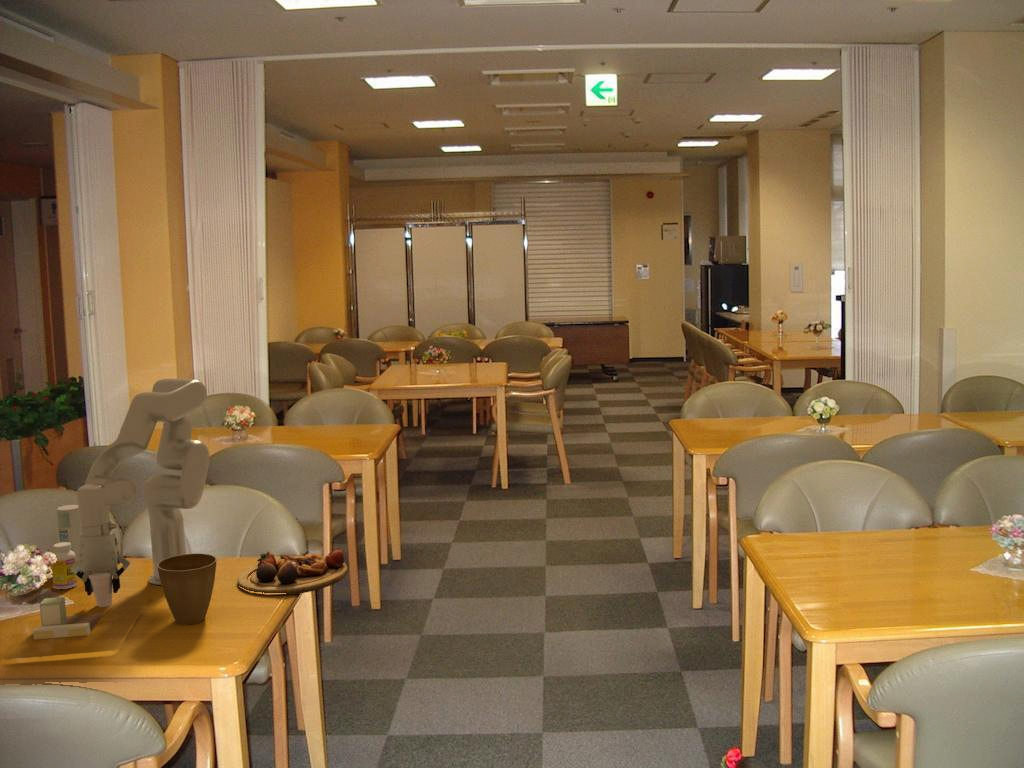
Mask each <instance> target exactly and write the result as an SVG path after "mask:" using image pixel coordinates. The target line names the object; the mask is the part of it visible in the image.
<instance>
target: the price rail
mask: <svg viewBox="0 0 1024 768" xmlns="http://www.w3.org/2000/svg"><path fill="white" fill-rule="evenodd" d="M32 633H33V639H35V640H46V639H57V638H58V637H60V638H68V637H69V638H70V637H71V638H72V637H84V636H89V635H90V633H91V632H90V624H89V623H80V624H67V625H54V626H42V625H41V626H35V627H34V629H33V630H32Z"/></svg>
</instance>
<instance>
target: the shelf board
mask: <svg viewBox="0 0 1024 768" xmlns="http://www.w3.org/2000/svg"><path fill="white" fill-rule="evenodd" d="M104 614H105V612H98V613H85V614H72V615H70V614H69V615H66V617H67V623H66V625H67V624H80V623H89V624H90V633H91V632H92V630H93V629H95V627H96V625H97V624H98V622H99V621H100V620H101V618H103V616H104ZM58 638H59V639H60V638H61V637H58ZM33 639H34V638H33ZM35 640H36V639H34V641H35Z"/></svg>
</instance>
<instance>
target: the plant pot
mask: <svg viewBox="0 0 1024 768" xmlns="http://www.w3.org/2000/svg"><path fill="white" fill-rule="evenodd" d="M217 562H218V561H217V557H216V556H214V555H213V554H208V553H186V554H184V555H177V556H173V557H169V558H166V559H163V560H161V561H160V562H159V563H158V564H157V568H158V573H159V577H160V581H161V585H160V586H161V588H162V592H163V594H164V597H165V600H166V603H167V605H168V608H169V610H170V612H171V614H172V617H173V619H174V620H175V622H176V623H177V624H179V625H183V624H188V625H194V624H193V623H195V624H198V623H197V622H199V623H201V622H203V621H204V620H205V619H206V616H207V614H208V610H209V607H210V605H211V604H210V603H211V599H212V595H213V591H214V586H215V579H216V578H215V577H216V573H217V572H216V571H217ZM202 620H203V621H202ZM200 621H201V622H200Z"/></svg>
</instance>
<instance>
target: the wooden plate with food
mask: <svg viewBox="0 0 1024 768" xmlns="http://www.w3.org/2000/svg"><path fill="white" fill-rule="evenodd" d="M256 562H258V563H257V565H255V566H251V567H250V568H248V569H246V570H244V571H243V572H242V573H241V574H240V575H239V576H238V577H237V582H238V584H237V586H238V585H239V586H240V587H242V588H244V589H246V590H249V591H254V592H262V593H263V592H264V593H286V594H289V595H301V594H306V593H311V592H315V591H318V590H321V589H324V588H327V587H330V586H333V585H335V584H337V583H339V582H340V581H341V580H343V579H344V578H345V577H346V576H347V574H348V571H349V566H348V565H347V564H346V563H345V554H344V553H343V551H342V550H338V549H335V550H333V551H330V552H329V553H328V555H326V556H323V555H322V554H320V553H314V552H312V553H307V554H304V555H298V556H290V555H286V554H282V555H280V557H279V558H275V554H273V553H272V552H270V551H267V552H265V553H261V554H260V558H258V559H257V560H256ZM253 572H254V573H253ZM252 573H253V574H252ZM251 574H252V575H251ZM250 575H251V578H250V582H251V583H250V582H249V581H248V577H249V576H250ZM237 582H236V583H237ZM239 586H238V587H239ZM240 587H239V588H240ZM289 595H288V596H289Z"/></svg>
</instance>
